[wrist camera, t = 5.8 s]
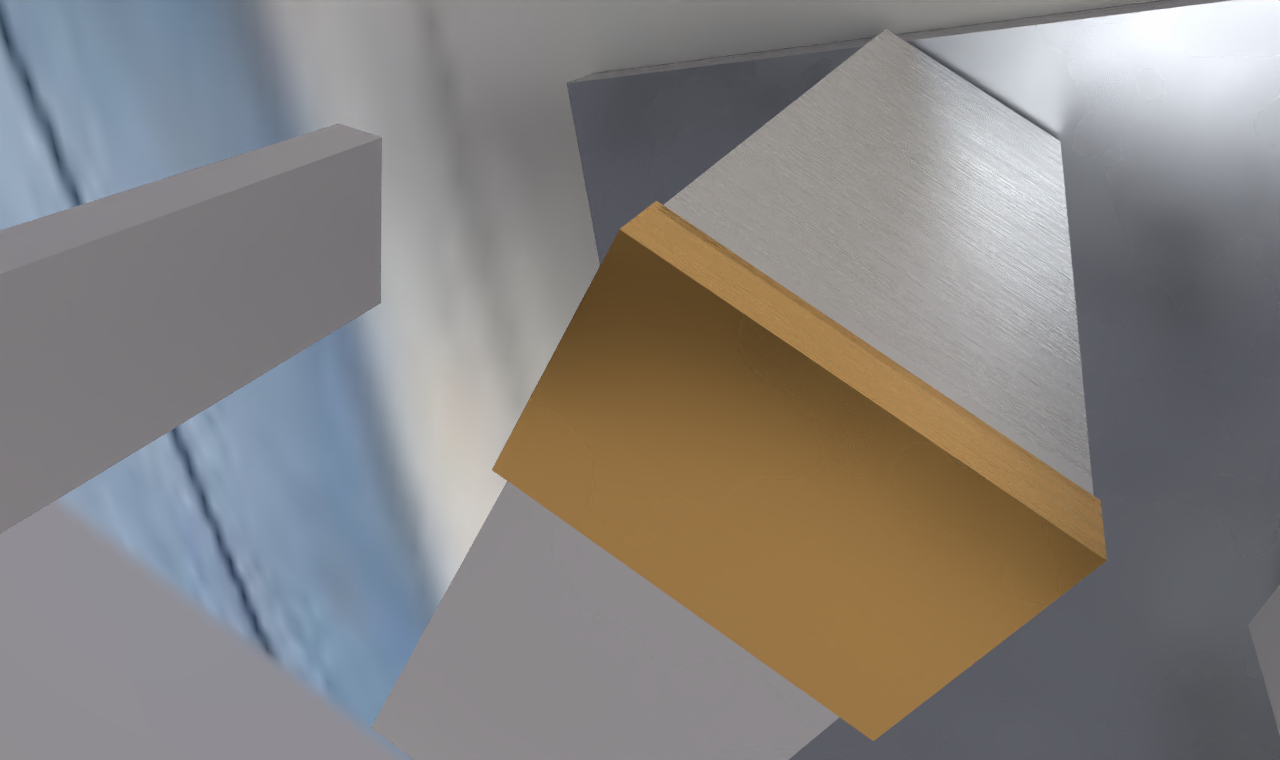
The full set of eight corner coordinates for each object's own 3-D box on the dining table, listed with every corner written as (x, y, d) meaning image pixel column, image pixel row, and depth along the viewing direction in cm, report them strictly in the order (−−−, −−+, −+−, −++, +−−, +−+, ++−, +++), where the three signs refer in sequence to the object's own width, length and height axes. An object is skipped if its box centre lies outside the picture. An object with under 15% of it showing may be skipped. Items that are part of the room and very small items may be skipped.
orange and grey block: (678, 347, 18) (337, 761, 9) (883, 26, 14) (619, 229, 5) (813, 440, 17) (595, 956, 9) (1063, 143, 13) (1107, 560, 5)
